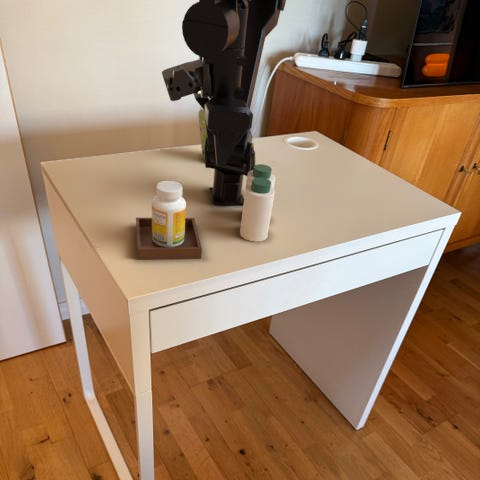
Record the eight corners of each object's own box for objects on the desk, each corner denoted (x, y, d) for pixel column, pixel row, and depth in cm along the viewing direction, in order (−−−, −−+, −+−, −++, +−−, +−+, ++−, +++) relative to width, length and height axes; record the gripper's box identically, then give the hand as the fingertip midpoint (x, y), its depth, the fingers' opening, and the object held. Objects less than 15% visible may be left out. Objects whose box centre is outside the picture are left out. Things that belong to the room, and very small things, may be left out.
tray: (136, 227, 79) (135, 217, 77) (193, 227, 81) (194, 217, 80) (138, 259, 71) (137, 249, 70) (201, 258, 74) (201, 248, 72)
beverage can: (232, 163, 105) (238, 108, 97) (204, 166, 101) (207, 110, 93) (219, 152, 108) (223, 99, 101) (191, 156, 105) (194, 100, 97)
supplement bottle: (152, 248, 74) (152, 193, 67) (151, 231, 77) (150, 178, 71) (186, 248, 75) (188, 194, 68) (182, 231, 79) (184, 178, 72)
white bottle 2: (237, 227, 83) (243, 174, 76) (263, 227, 84) (272, 175, 77) (242, 241, 79) (250, 188, 73) (270, 241, 80) (280, 188, 74)
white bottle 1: (239, 212, 87) (245, 161, 81) (264, 212, 88) (272, 162, 82) (244, 225, 83) (251, 173, 77) (270, 225, 85) (280, 174, 78)
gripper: (161, 26, 68) (161, 132, 78) (171, 55, 55) (170, 178, 65) (233, 33, 71) (224, 134, 81) (260, 62, 57) (245, 180, 67)
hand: (215, 154), depth 73 cm, fingers open, 9 cm apart
